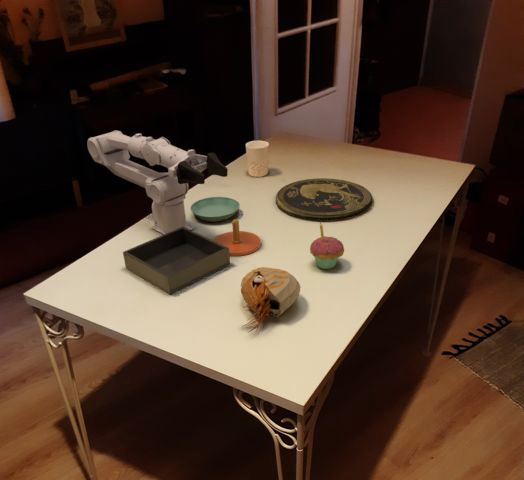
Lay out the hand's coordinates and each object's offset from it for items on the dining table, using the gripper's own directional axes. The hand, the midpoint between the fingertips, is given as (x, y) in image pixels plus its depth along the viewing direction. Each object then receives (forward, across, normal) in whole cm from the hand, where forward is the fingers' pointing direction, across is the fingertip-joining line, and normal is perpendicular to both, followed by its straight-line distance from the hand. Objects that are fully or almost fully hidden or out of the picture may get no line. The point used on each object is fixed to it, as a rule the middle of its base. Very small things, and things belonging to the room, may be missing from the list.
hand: (215, 176), depth 139 cm
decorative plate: (+1, +45, +18) cm, 48 cm away
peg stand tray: (-1, -12, +22) cm, 25 cm away
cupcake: (+27, +14, +19) cm, 36 cm away
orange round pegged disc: (+2, +7, +20) cm, 21 cm away
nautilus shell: (+29, -12, +20) cm, 37 cm away
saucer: (-17, +16, +21) cm, 32 cm away
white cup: (-30, +49, +20) cm, 61 cm away
